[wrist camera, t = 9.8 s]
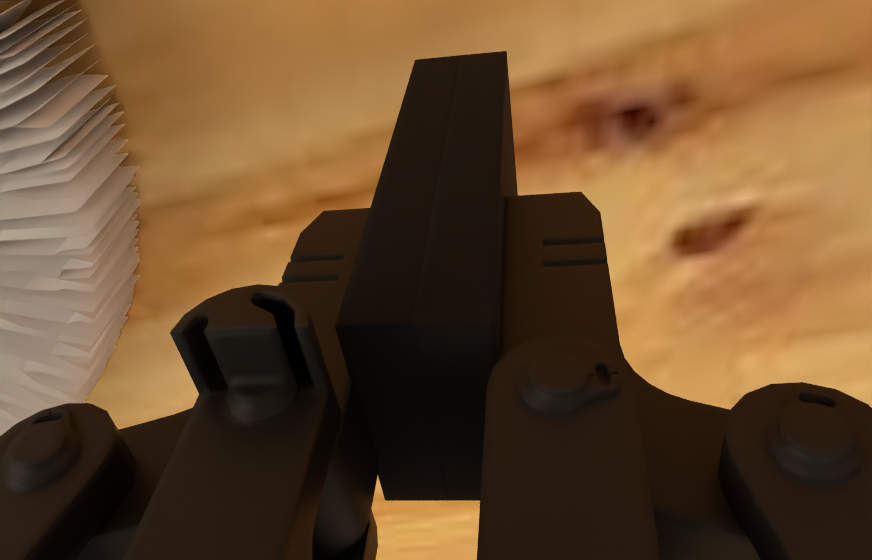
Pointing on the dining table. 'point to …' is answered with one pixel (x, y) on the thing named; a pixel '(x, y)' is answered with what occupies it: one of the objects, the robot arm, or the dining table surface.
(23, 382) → the spiky fractal disc
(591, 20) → the dining table surface
